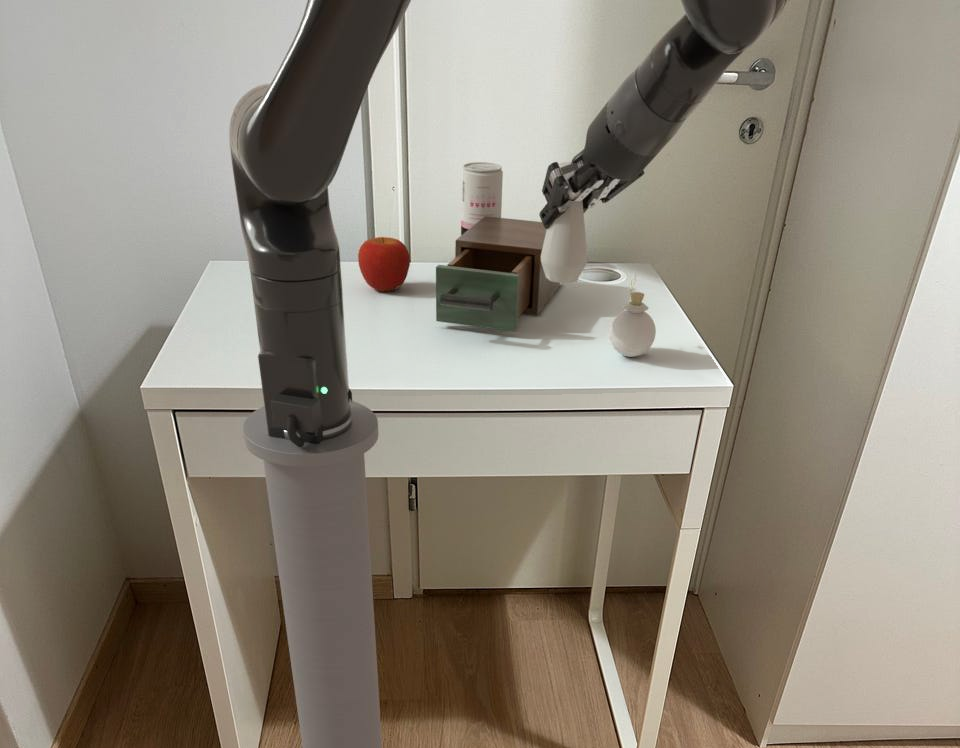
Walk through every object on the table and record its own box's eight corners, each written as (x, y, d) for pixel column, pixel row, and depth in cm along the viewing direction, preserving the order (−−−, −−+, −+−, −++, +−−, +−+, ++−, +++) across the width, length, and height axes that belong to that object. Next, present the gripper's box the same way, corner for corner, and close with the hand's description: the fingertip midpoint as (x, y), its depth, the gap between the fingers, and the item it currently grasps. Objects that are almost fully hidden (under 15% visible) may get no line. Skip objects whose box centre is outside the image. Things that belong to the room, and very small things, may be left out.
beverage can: (462, 257, 156) (463, 161, 147) (500, 259, 156) (504, 162, 147) (458, 269, 151) (459, 169, 142) (498, 271, 151) (501, 171, 142)
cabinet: (537, 315, 134) (541, 249, 128) (454, 305, 137) (455, 239, 131) (559, 286, 145) (564, 224, 140) (483, 277, 148) (484, 216, 142)
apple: (412, 296, 140) (410, 242, 135) (360, 297, 139) (357, 243, 134) (408, 280, 146) (407, 229, 141) (359, 281, 145) (356, 229, 140)
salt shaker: (594, 282, 114) (606, 166, 106) (556, 287, 111) (565, 170, 103) (567, 269, 118) (577, 157, 110) (530, 275, 115) (537, 160, 107)
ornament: (612, 364, 120) (621, 286, 114) (601, 343, 126) (609, 268, 120) (657, 363, 120) (668, 285, 114) (643, 343, 126) (654, 268, 120)
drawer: (505, 343, 122) (507, 287, 118) (424, 332, 125) (423, 277, 120) (539, 301, 136) (542, 249, 132) (465, 292, 139) (466, 241, 134)
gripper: (671, 86, 100) (586, 186, 115) (573, 93, 93) (497, 198, 109) (697, 149, 100) (610, 240, 115) (602, 159, 93) (522, 255, 108)
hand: (556, 219), depth 112 cm, fingers closed on salt shaker, 3 cm apart
